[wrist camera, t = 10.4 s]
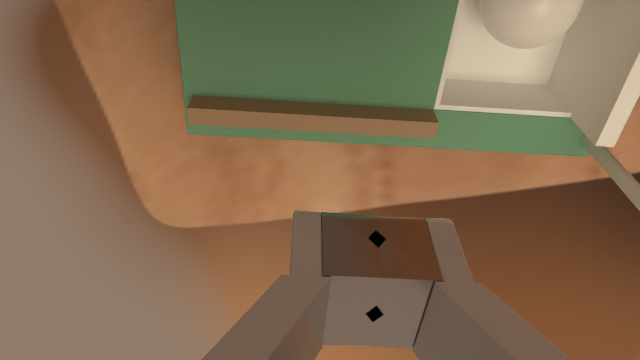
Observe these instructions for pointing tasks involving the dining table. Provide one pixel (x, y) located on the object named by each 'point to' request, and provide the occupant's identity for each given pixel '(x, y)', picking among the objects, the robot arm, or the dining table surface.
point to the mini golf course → (409, 76)
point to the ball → (528, 20)
